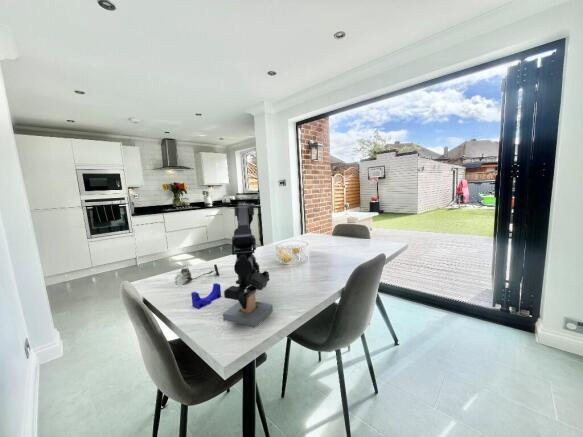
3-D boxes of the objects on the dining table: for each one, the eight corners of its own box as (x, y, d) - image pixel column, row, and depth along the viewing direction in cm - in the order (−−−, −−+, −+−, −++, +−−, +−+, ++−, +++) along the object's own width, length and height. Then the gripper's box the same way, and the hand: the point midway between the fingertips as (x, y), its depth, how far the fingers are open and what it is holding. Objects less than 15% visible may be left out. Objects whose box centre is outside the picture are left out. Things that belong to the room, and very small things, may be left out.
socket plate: (223, 319, 88) (222, 313, 88) (243, 304, 99) (242, 299, 98) (255, 327, 82) (255, 320, 82) (272, 310, 93) (272, 304, 93)
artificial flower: (221, 279, 132) (218, 264, 128) (177, 292, 124) (172, 277, 119) (218, 270, 139) (215, 256, 135) (176, 282, 131) (172, 267, 127)
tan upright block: (241, 313, 89) (239, 293, 88) (247, 308, 93) (245, 288, 92) (250, 315, 88) (248, 294, 87) (256, 310, 91) (254, 290, 90)
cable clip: (198, 309, 97) (197, 295, 96) (192, 306, 100) (191, 292, 99) (223, 298, 106) (222, 285, 106) (217, 295, 109) (216, 282, 108)
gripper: (248, 278, 76) (252, 323, 78) (276, 260, 93) (278, 298, 95) (221, 274, 81) (225, 317, 83) (252, 258, 98) (255, 294, 100)
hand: (248, 306), depth 90 cm, fingers closed on tan upright block, 4 cm apart
